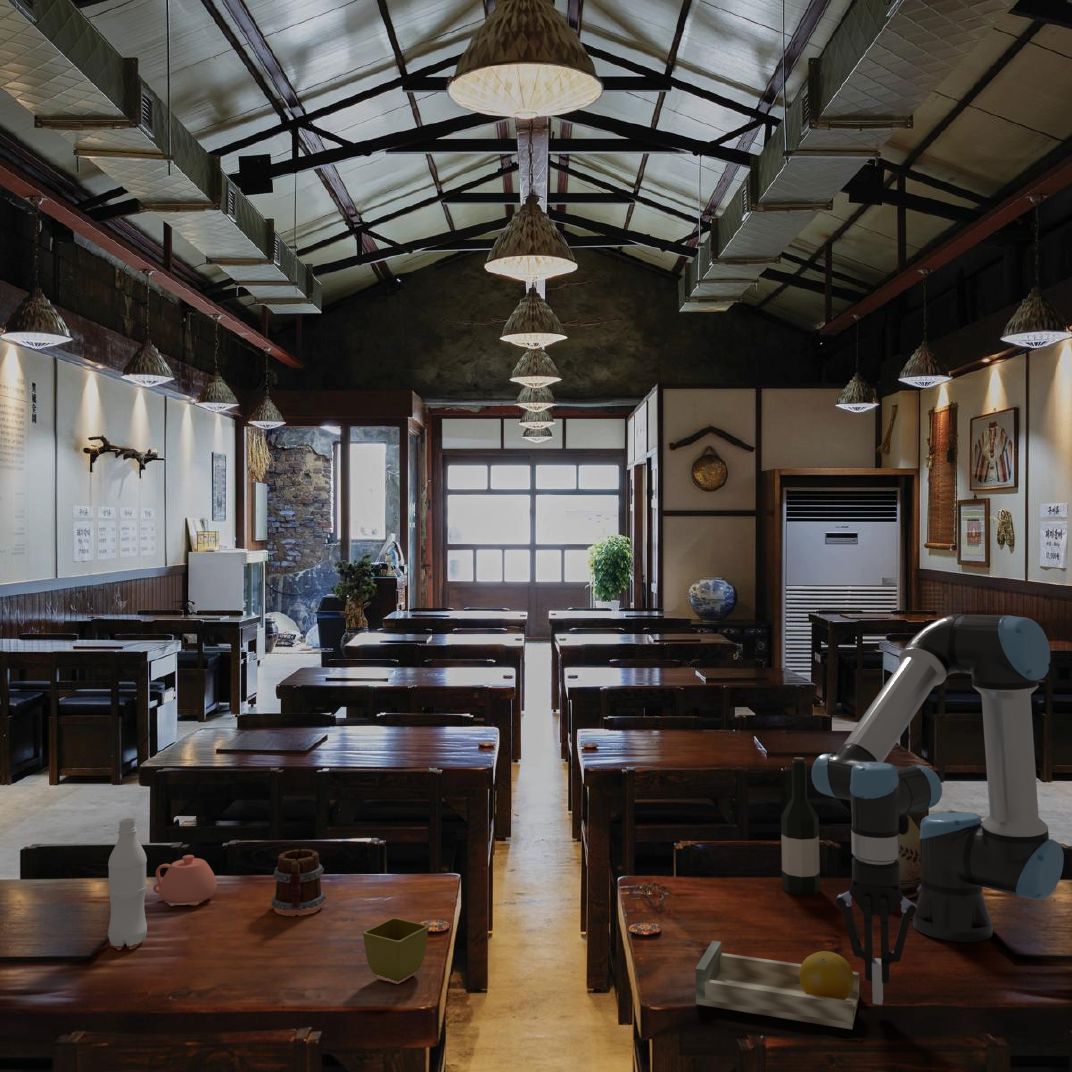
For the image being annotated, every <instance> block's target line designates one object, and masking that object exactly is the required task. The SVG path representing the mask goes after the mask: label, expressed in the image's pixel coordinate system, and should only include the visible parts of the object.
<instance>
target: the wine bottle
mask: <svg viewBox="0 0 1072 1072" xmlns="http://www.w3.org/2000/svg"><path fill="white" fill-rule="evenodd" d="M790 764H791V766H790V767H791V768H790V770H791V771H790V772H791V774H790V775H791V799H790V801H789V802H788V804H786V807H785V809H784V810H783V812H782V814H781V815H780V819H781V820H780V824H781V827H780V828H781V837H780V838H781V885H782V886H781V887H782V890H783V891H784V892H786V893H788V894H790V895H795V896H796V895H797V896H814V895H816V894H818V893H819V892H820V891H821V886H820V885H821V882H820V876H821V875H820V825H819V824H820V822H819V820H820V819H819V816H818V815H819V814H817V813H816V810H815V808H814V807H813V806H812V805H811V804H812V803H810V801H809V799H808V775H807V774H808V773H807V772H808V771H807V770H808V767H807V764H808V762H807V761H805V758H804V757H801V756H799V757H798V756H797V757H793V758H792V760H791V762H790Z"/></svg>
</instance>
